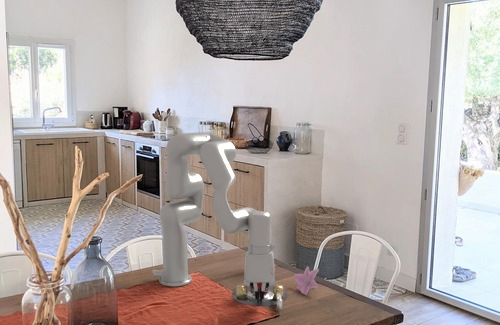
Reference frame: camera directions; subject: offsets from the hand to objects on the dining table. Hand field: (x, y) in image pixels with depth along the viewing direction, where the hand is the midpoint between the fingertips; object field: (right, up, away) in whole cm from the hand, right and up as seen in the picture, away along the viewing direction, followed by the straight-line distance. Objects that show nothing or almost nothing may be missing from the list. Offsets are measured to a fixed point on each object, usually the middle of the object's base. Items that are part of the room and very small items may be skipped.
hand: (259, 301), depth 168 cm
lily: (+18, -2, +17) cm, 25 cm away
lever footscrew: (+7, -2, +4) cm, 8 cm away
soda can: (0, -1, +13) cm, 13 cm away
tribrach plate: (0, -2, +12) cm, 13 cm away
